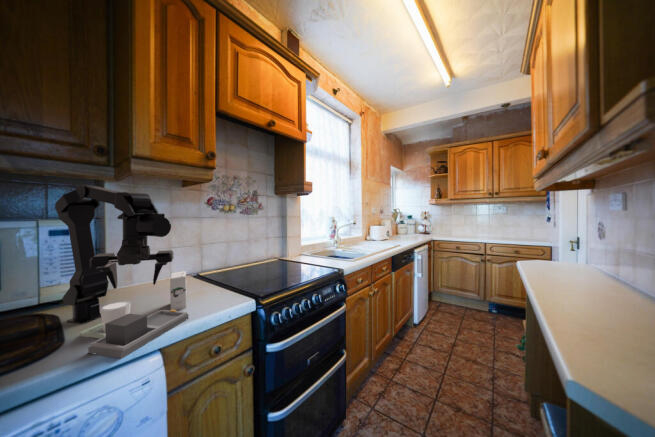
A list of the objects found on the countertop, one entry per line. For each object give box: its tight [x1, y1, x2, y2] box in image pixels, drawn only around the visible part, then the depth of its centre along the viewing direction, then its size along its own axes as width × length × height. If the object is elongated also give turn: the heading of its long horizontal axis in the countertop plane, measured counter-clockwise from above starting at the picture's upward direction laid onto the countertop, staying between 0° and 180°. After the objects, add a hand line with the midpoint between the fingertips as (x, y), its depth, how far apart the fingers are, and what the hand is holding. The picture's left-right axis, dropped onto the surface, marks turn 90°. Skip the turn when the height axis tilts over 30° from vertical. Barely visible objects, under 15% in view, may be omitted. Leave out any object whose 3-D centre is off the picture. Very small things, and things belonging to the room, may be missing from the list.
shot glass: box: [100, 300, 132, 333], centre depth 71 cm, size 7×7×7 cm
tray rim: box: [79, 323, 106, 339], centre depth 71 cm, size 11×11×1 cm
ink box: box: [169, 270, 187, 311], centre depth 87 cm, size 9×5×12 cm, turn 31°
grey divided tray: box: [87, 309, 189, 359], centre depth 68 cm, size 10×21×6 cm, turn 169°
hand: (135, 286), depth 71 cm, fingers open, 9 cm apart
